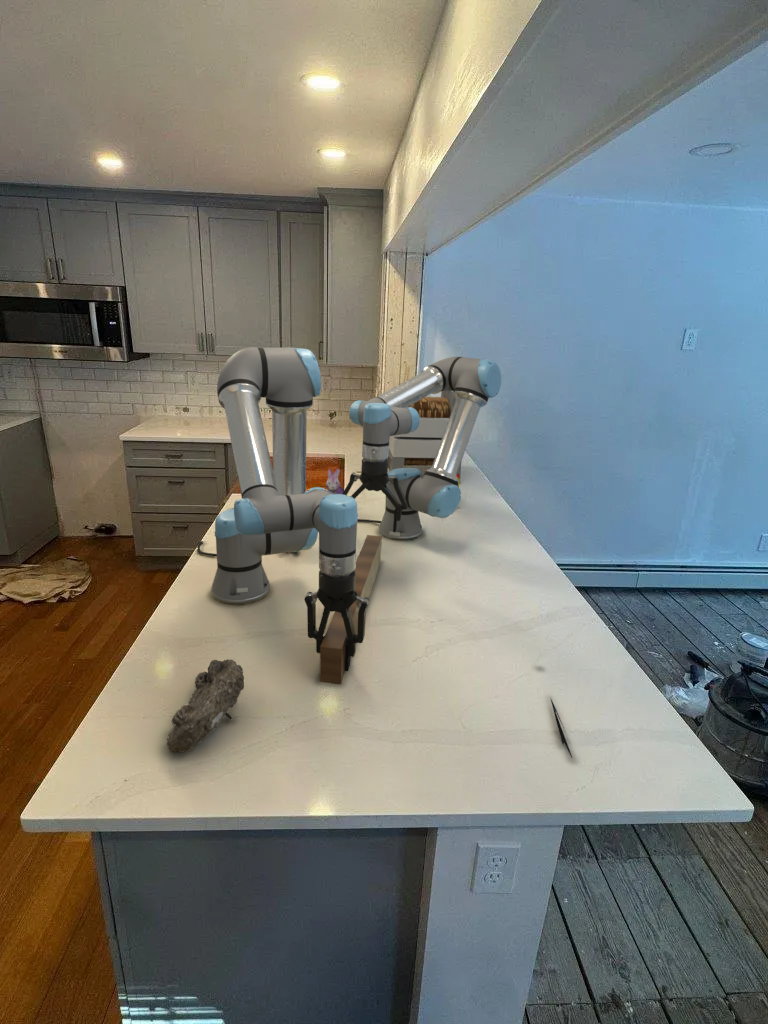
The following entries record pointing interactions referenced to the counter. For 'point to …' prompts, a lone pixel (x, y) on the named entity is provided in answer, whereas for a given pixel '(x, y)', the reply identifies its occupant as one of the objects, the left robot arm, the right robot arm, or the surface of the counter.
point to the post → (336, 632)
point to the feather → (560, 728)
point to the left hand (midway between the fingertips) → (335, 666)
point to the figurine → (334, 483)
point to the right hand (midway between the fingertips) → (372, 528)
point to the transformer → (422, 433)
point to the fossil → (206, 705)
